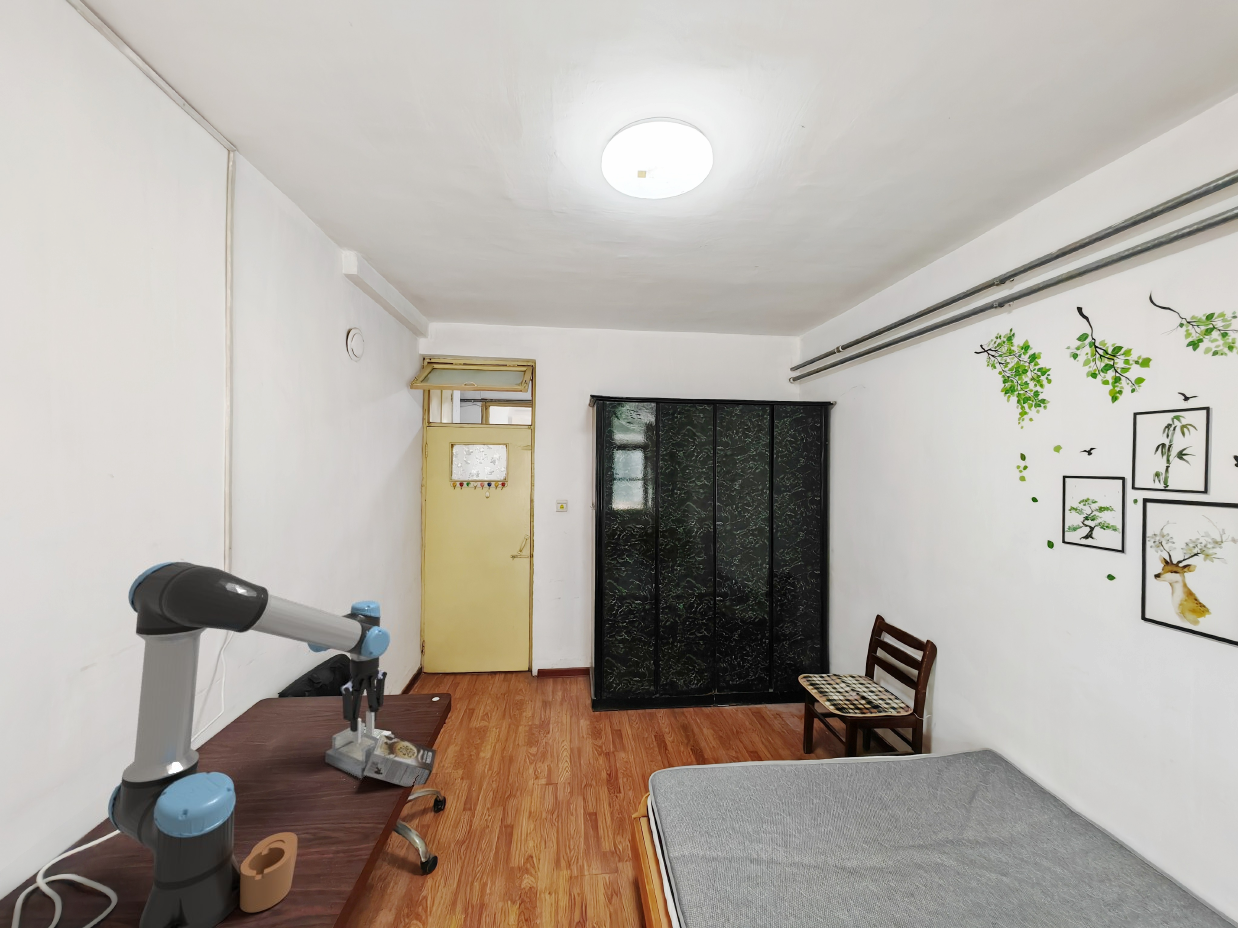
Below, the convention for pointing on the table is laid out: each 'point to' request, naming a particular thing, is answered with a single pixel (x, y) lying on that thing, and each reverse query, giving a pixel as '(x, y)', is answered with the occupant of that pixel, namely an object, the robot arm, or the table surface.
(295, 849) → the bracket
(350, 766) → the aluminum channel piece
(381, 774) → the coffee box
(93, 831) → the table surface
